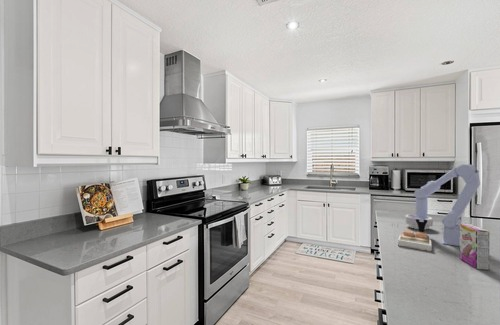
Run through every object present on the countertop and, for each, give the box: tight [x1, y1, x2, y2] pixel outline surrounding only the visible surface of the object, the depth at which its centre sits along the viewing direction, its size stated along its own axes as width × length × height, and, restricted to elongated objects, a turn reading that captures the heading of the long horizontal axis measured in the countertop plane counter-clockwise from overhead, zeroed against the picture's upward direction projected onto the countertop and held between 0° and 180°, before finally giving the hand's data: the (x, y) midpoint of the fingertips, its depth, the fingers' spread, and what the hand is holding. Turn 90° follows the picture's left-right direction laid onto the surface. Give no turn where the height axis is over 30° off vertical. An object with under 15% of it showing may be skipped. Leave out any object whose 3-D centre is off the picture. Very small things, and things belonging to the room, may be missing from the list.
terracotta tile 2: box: [402, 229, 415, 237], centre depth 141 cm, size 5×5×2 cm
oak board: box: [400, 231, 430, 243], centre depth 138 cm, size 13×11×2 cm
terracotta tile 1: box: [415, 231, 428, 239], centre depth 137 cm, size 5×5×2 cm
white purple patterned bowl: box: [404, 213, 434, 231], centre depth 163 cm, size 15×15×8 cm
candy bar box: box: [459, 223, 490, 271], centre depth 105 cm, size 11×5×16 cm, turn 168°
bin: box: [397, 234, 433, 252], centre depth 129 cm, size 14×12×3 cm
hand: (421, 231), depth 144 cm, fingers closed
